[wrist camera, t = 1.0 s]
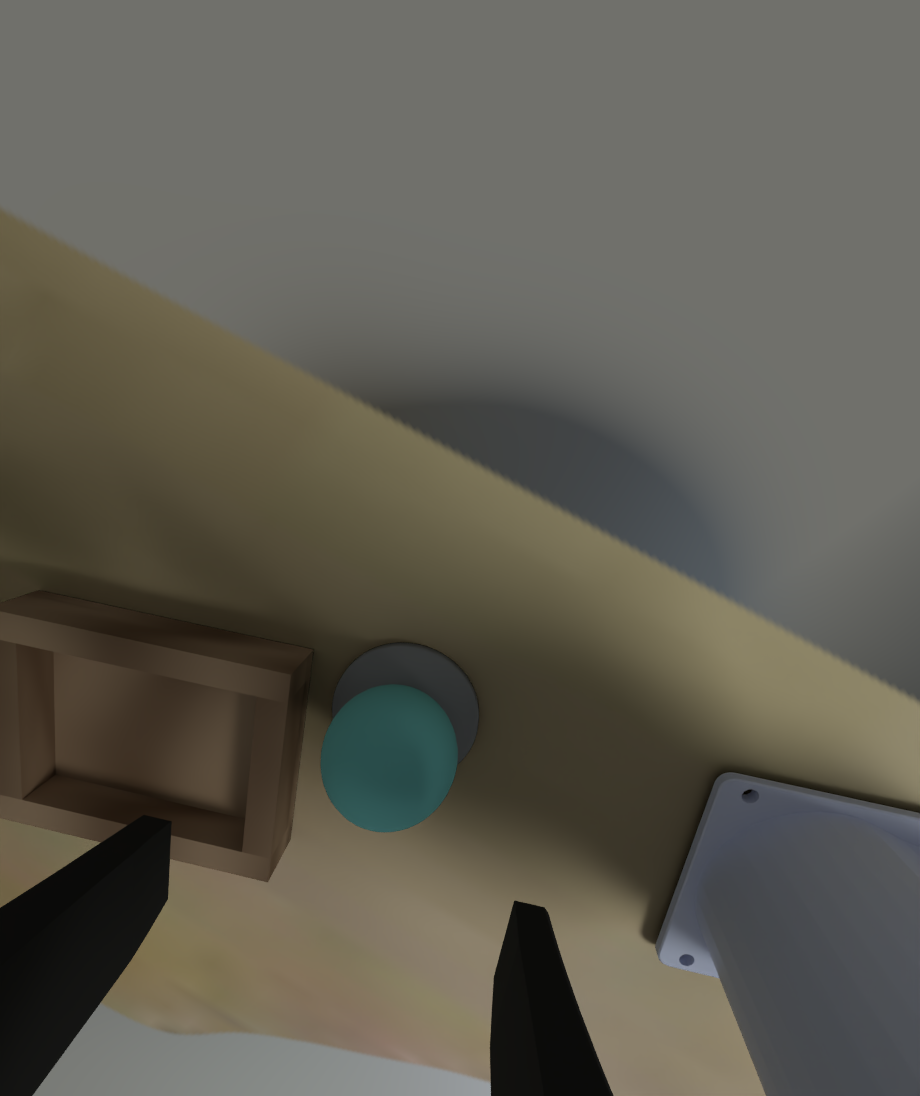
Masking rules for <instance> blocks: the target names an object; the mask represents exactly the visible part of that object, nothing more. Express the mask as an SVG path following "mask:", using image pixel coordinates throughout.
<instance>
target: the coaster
mask: <svg viewBox="0 0 920 1096" xmlns="http://www.w3.org/2000/svg"><path fill="white" fill-rule="evenodd" d="M390 684H397V685H405V686H409V687H413V688H415V689H418V690H420V691H422V692H424V693H426V694H427V695H429V696H430V697H431V698H433V699H434V700H435V701H436V702H437V703H438V704H439V705H440V706H441V708H442V709H443V710H444V711H445V713H446V714H447V716H448V717H449V720H450V722H451V724H452V726H453V729H454V732H455V735H456V741H457V747H458V761H457V764H459V763H460V762H461V761H462V760H463V758H464V757H465V756H466V755H467V753H468V752H469V750H470V749H471V747H472V745H473V743H474V740H475V737H476V734H477V728H478V720H479V707H478V700H477V697H476V693H475V690H474V688H473V686H472V684H471V682H470V680H469V679H468V677H467V676H466V674H465V673H464V672H463V671H462V669H461V668H460V667H459V666H458V665H457V664H456V663H455V662H454V661H452V660H451V659H450V658H448V657H447V656H445V655H444V654H442V653H440V652H438V651H437V650H434V649H432V648H429V647H426V646H423V645H419V644H413V643H390V644H385V645H381V646H378V647H375V648H373V649H371V650H369V651H367V652H365V653H363V654H362V655H361V656H359V657H358V658H357V659H356V660H354V661H353V662H352V663H351V664H350V666H349V667H348V668H347V670H346V671H345V672H344V674H343V675H342V677H341V679H340V680H339V682H338V684H337V687H336V689H335V692H334V696H333V702H332V715H333V719H334V717H335V716H336V715H337V713H338V712H339V711H340V709H341V708H342V707H343V706H344V705H345V704H346V703H347V702H348V701H350V700H351V699H352V698H354V697H355V696H356V695H358V694H360V693H362V692H364V691H366V690H368V689H370V688H373V687H377V686H381V685H390Z"/></svg>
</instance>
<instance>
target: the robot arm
mask: <svg viewBox="0 0 920 1096" xmlns="http://www.w3.org/2000/svg"><path fill="white" fill-rule="evenodd" d="M748 789H753V790H752V791H751V792H750V793H748V794H746V795H742V794H743V793H744V791H746V790H748ZM171 825H172V821H169V820H164V819H160V818H156V817H151V816H147V815H143V816H141V817H139V818H138V819H136V820H135V821H133V822H132V823H130V824H129V825H127V826H125V827H124V828H122V829H121V830H119V831H118V832H116V833H115V834H113V835H112V836H110V837H109V838H107V839H106V840H104V841H103V842H101V843H100V844H98V845H97V846H95V847H94V848H92V849H91V850H89V851H88V852H86V853H85V854H83V855H82V856H80V857H79V858H77V859H75V860H74V861H72V862H71V863H69V864H68V865H66V866H65V867H63V868H62V869H60V870H59V871H57V872H56V873H54V874H53V875H51V876H49V877H48V878H46V879H45V880H43V881H42V882H40V883H38V884H37V885H35V886H34V887H32V888H31V889H29V890H28V891H26V892H24V893H23V894H21V895H20V896H18V897H17V898H15V899H13V900H12V901H10V902H9V903H7V904H6V905H4V906H2V907H1V908H0V1096H32V1095H33V1094H34V1093H35V1091H36V1090H37V1088H38V1087H39V1086H40V1084H41V1083H42V1082H43V1080H44V1079H45V1078H46V1076H47V1075H48V1073H49V1072H50V1071H51V1069H52V1068H53V1067H54V1065H55V1064H56V1063H57V1061H58V1060H59V1058H60V1057H61V1056H62V1054H63V1053H64V1052H65V1050H66V1049H67V1047H68V1046H69V1045H70V1044H71V1042H72V1041H73V1039H74V1038H75V1037H76V1035H77V1034H78V1033H79V1031H80V1030H81V1029H82V1027H83V1026H84V1024H85V1023H86V1022H87V1020H88V1019H89V1018H90V1016H91V1015H92V1014H93V1012H94V1011H95V1009H96V1008H97V1007H98V1005H99V1004H100V1003H101V1001H102V1000H103V998H104V997H105V996H106V994H107V993H108V991H109V990H110V989H111V987H112V986H113V985H114V983H115V982H116V980H117V979H118V978H119V976H120V975H121V974H122V972H123V971H124V969H125V968H126V967H127V965H128V964H129V962H130V961H131V959H132V958H133V956H134V955H135V953H136V951H137V950H138V948H139V947H140V945H141V943H142V942H143V940H144V938H145V937H146V935H147V934H148V932H149V930H150V929H151V927H152V925H153V923H154V922H155V920H156V918H157V917H158V915H159V913H160V912H161V910H162V908H163V906H164V905H165V903H166V901H167V900H168V886H169V866H170V845H171ZM655 948H656V951H657V955H658V958H659V960H660V961H661V962H662V963H663V964H665V965H667V966H670V967H675V968H679V969H683V970H687V971H691V972H695V973H700V974H704V975H708V976H712V977H716V978H720V981H721V983H722V986H723V988H724V991H725V993H726V996H727V998H728V1001H729V1003H730V1006H731V1008H732V1011H733V1013H734V1016H735V1018H736V1021H737V1023H738V1026H739V1028H740V1031H741V1033H742V1036H743V1039H744V1041H745V1044H746V1046H747V1049H748V1051H749V1054H750V1056H751V1059H752V1061H753V1064H754V1066H755V1069H756V1071H757V1074H758V1076H759V1079H760V1081H761V1084H762V1086H763V1089H764V1091H765V1094H766V1096H920V813H917V812H913V811H908V810H903V809H899V808H894V807H890V806H885V805H881V804H876V803H871V802H867V801H862V800H858V799H853V798H849V797H844V796H839V795H835V794H830V793H826V792H821V791H817V790H812V789H807V788H803V787H798V786H794V785H789V784H785V783H780V782H775V781H771V780H766V779H762V778H757V777H753V776H748V775H743V774H739V773H733V772H728V773H724V774H722V775H720V776H719V777H718V778H717V779H716V781H715V782H714V785H713V788H712V791H711V793H710V796H709V799H708V802H707V804H706V807H705V810H704V813H703V815H702V818H701V821H700V824H699V826H698V829H697V832H696V835H695V837H694V840H693V843H692V846H691V848H690V851H689V854H688V857H687V859H686V862H685V865H684V867H683V870H682V873H681V876H680V878H679V881H678V884H677V887H676V889H675V892H674V895H673V898H672V900H671V903H670V906H669V909H668V911H667V914H666V917H665V920H664V922H663V925H662V928H661V931H660V933H659V936H658V939H657V942H656V947H655ZM490 1069H491V1096H613V1093H612V1091H611V1089H610V1086H609V1084H608V1081H607V1079H606V1077H605V1074H604V1072H603V1069H602V1067H601V1064H600V1062H599V1059H598V1057H597V1054H596V1051H595V1049H594V1046H593V1044H592V1041H591V1038H590V1036H589V1033H588V1031H587V1028H586V1025H585V1023H584V1020H583V1017H582V1015H581V1012H580V1009H579V1007H578V1004H577V1001H576V998H575V996H574V993H573V990H572V987H571V984H570V981H569V978H568V975H567V972H566V969H565V966H564V963H563V960H562V957H561V954H560V951H559V948H558V945H557V941H556V938H555V935H554V931H553V928H552V925H551V921H550V917H549V914H548V912H547V911H546V909H545V908H544V907H540V906H536V905H531V904H527V903H523V902H518V901H514V904H513V908H512V911H511V915H510V919H509V923H508V926H507V930H506V934H505V937H504V941H503V945H502V949H501V952H500V956H499V960H498V964H497V967H496V971H495V975H494V985H493V1001H492V1019H491V1038H490Z"/></svg>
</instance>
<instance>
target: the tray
mask: <svg viewBox="0 0 920 1096" xmlns="http://www.w3.org/2000/svg"><path fill="white" fill-rule="evenodd" d="M313 651H314V650H313V649H309V648H304V647H299V646H295V645H290V644H285V643H281V642H276V641H271V640H267V639H262V638H257V637H253V636H248V635H244V634H239V633H234V632H230V631H225V630H220V629H216V628H211V627H206V626H202V625H197V624H193V623H188V622H183V621H179V620H174V619H169V618H165V617H160V616H155V615H151V614H146V613H141V612H137V611H132V610H128V609H123V608H118V607H114V606H109V605H104V604H100V603H95V602H90V601H86V600H81V599H77V598H72V597H67V596H63V595H58V594H53V593H49V592H44V591H39V590H38V591H35V592H32V593H29V594H26V595H23V596H20V597H17V598H14V599H11V600H8V601H5V602H2V603H0V818H2V819H6V820H10V821H15V822H19V823H23V824H27V825H31V826H35V827H40V828H44V829H48V830H52V831H56V832H60V833H65V834H69V835H73V836H77V837H81V838H85V839H90V840H94V841H98V842H103V841H104V840H106V839H107V838H109V837H110V836H112V835H113V834H115V833H116V832H118V831H119V830H121V829H122V828H124V827H125V826H127V825H129V824H130V823H132V822H133V821H135V820H136V819H138V818H139V817H141V816H143V815H147V816H151V817H156V818H160V819H164V820H169V821H172V825H171V845H170V859H173V860H177V861H181V862H186V863H190V864H194V865H198V866H202V867H206V868H211V869H215V870H219V871H223V872H227V873H231V874H236V875H240V876H244V877H248V878H252V879H256V880H261V881H265V882H268V881H269V879H270V877H271V875H272V873H273V871H274V870H275V868H276V866H277V864H278V862H279V860H280V858H281V856H282V855H283V853H284V851H285V849H286V847H287V845H288V843H289V841H290V839H291V830H292V822H293V814H294V806H295V798H296V790H297V781H298V773H299V765H300V757H301V749H302V741H303V732H304V724H305V716H306V708H307V700H308V692H309V683H310V675H311V667H312V659H313Z"/></svg>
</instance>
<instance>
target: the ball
mask: <svg viewBox="0 0 920 1096" xmlns="http://www.w3.org/2000/svg"><path fill="white" fill-rule="evenodd" d="M457 761H458V747H457V741H456V735H455V732H454V729H453V726H452V724H451V722H450V720H449V717H448V716H447V714H446V713H445V711H444V710H443V709H442V708H441V706H440V705H439V704H438V703H437V702H436V701H435V700H434V699H433V698H431V697H430V696H429V695H427V694H426V693H424V692H422V691H420V690H418V689H415V688H413V687H409V686H405V685H397V684H390V685H381V686H377V687H373V688H370V689H368V690H366V691H364V692H362V693H360V694H358V695H356V696H355V697H354V698H352V699H351V700H350V701H348V702H347V703H346V704H345V705H344V706H343V707H342V708H341V709H340V711H339V712H338V713H337V715H336V716H335V717H334V719H333V720H332V722H331V724H330V726H329V728H328V730H327V732H326V735H325V738H324V741H323V746H322V750H321V774H322V779H323V784H324V787H325V789H326V792H327V794H328V796H329V798H330V800H331V802H332V803H333V805H334V806H335V808H336V809H337V810H338V811H339V812H340V813H341V814H342V815H343V816H344V817H345V818H346V819H347V820H349V821H350V822H352V823H353V824H355V825H357V826H359V827H361V828H364V829H367V830H370V831H375V832H394V831H400V830H404V829H407V828H410V827H412V826H414V825H416V824H418V823H420V822H421V821H423V820H425V819H426V818H427V817H428V816H429V815H431V814H432V813H433V812H434V811H435V810H436V809H437V808H438V807H439V805H440V804H441V803H442V801H443V800H444V798H445V797H446V795H447V794H448V791H449V789H450V787H451V785H452V783H453V780H454V777H455V773H456V769H457Z"/></svg>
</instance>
